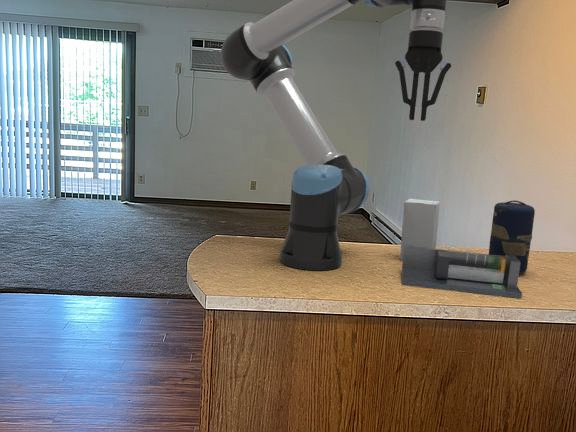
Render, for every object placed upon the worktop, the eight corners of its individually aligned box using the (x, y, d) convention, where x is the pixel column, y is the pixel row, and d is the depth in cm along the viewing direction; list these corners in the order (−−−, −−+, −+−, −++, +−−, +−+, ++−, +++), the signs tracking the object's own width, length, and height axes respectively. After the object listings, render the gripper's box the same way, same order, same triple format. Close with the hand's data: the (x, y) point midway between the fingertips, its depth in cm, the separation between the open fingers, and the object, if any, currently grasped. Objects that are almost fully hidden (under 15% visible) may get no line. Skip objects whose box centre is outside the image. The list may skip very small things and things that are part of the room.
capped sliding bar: (436, 277, 126) (439, 253, 125) (434, 271, 131) (437, 248, 130) (503, 285, 123) (507, 260, 122) (499, 279, 128) (502, 255, 127)
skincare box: (435, 259, 149) (441, 201, 146) (430, 264, 143) (437, 204, 140) (403, 254, 152) (409, 197, 149) (397, 259, 146) (404, 200, 144)
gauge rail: (402, 284, 124) (405, 253, 123) (401, 270, 136) (404, 241, 134) (521, 298, 120) (526, 265, 118) (510, 282, 131) (514, 252, 130)
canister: (530, 278, 136) (540, 205, 133) (489, 273, 138) (498, 201, 135) (521, 268, 146) (531, 199, 142) (483, 263, 147) (492, 196, 144)
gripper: (397, 27, 127) (387, 133, 131) (457, 29, 124) (445, 137, 129) (397, 32, 134) (388, 132, 138) (454, 34, 132) (442, 136, 136)
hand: (415, 134), depth 133 cm, fingers closed
